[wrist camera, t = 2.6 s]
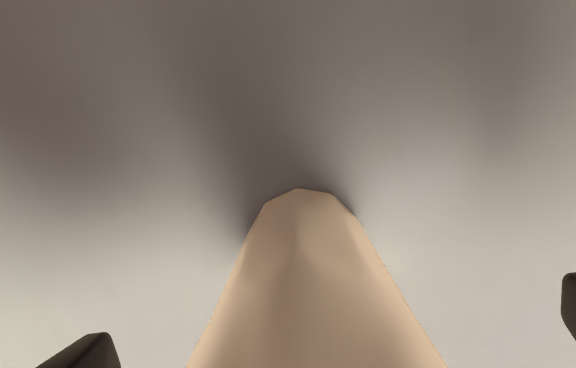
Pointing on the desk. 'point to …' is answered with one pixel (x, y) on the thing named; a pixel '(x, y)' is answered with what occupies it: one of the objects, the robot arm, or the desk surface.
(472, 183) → the desk surface
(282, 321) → the milkshake
